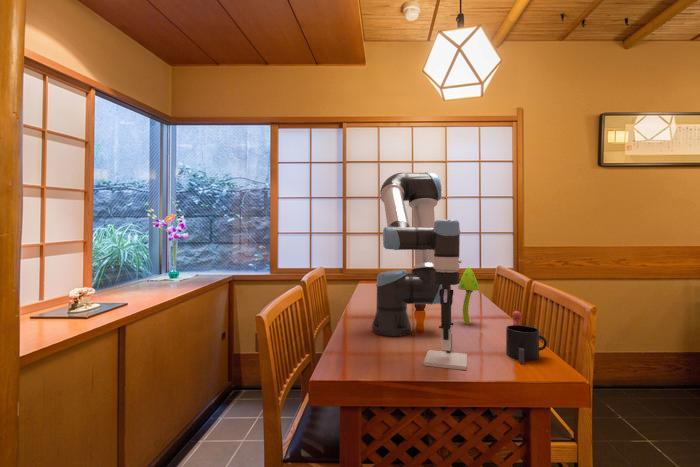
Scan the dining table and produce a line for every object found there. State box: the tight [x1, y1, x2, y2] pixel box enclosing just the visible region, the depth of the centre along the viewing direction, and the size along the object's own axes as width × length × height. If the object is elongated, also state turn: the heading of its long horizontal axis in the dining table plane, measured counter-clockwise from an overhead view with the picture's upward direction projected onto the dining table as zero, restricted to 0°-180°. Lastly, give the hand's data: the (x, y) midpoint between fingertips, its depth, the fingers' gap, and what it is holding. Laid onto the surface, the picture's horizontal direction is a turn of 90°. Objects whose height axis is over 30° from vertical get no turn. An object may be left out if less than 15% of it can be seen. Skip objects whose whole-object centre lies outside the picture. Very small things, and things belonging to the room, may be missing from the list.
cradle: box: [446, 310, 525, 365], centre depth 121 cm, size 23×15×13 cm, turn 72°
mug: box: [505, 324, 548, 362], centre depth 118 cm, size 9×12×9 cm
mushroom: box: [457, 266, 480, 325], centre depth 155 cm, size 8×8×25 cm
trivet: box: [423, 349, 468, 371], centre depth 113 cm, size 12×12×1 cm
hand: (446, 348), depth 113 cm, fingers open, 2 cm apart
